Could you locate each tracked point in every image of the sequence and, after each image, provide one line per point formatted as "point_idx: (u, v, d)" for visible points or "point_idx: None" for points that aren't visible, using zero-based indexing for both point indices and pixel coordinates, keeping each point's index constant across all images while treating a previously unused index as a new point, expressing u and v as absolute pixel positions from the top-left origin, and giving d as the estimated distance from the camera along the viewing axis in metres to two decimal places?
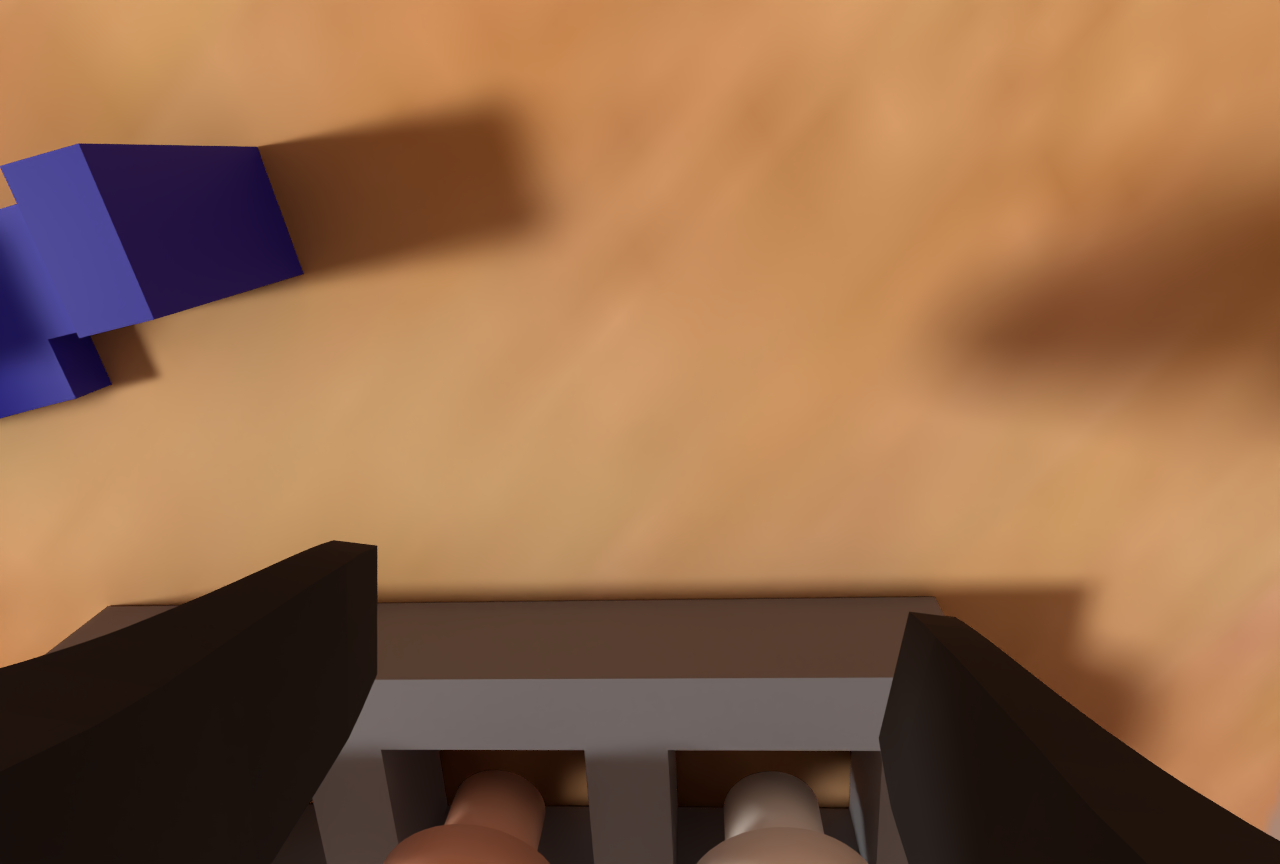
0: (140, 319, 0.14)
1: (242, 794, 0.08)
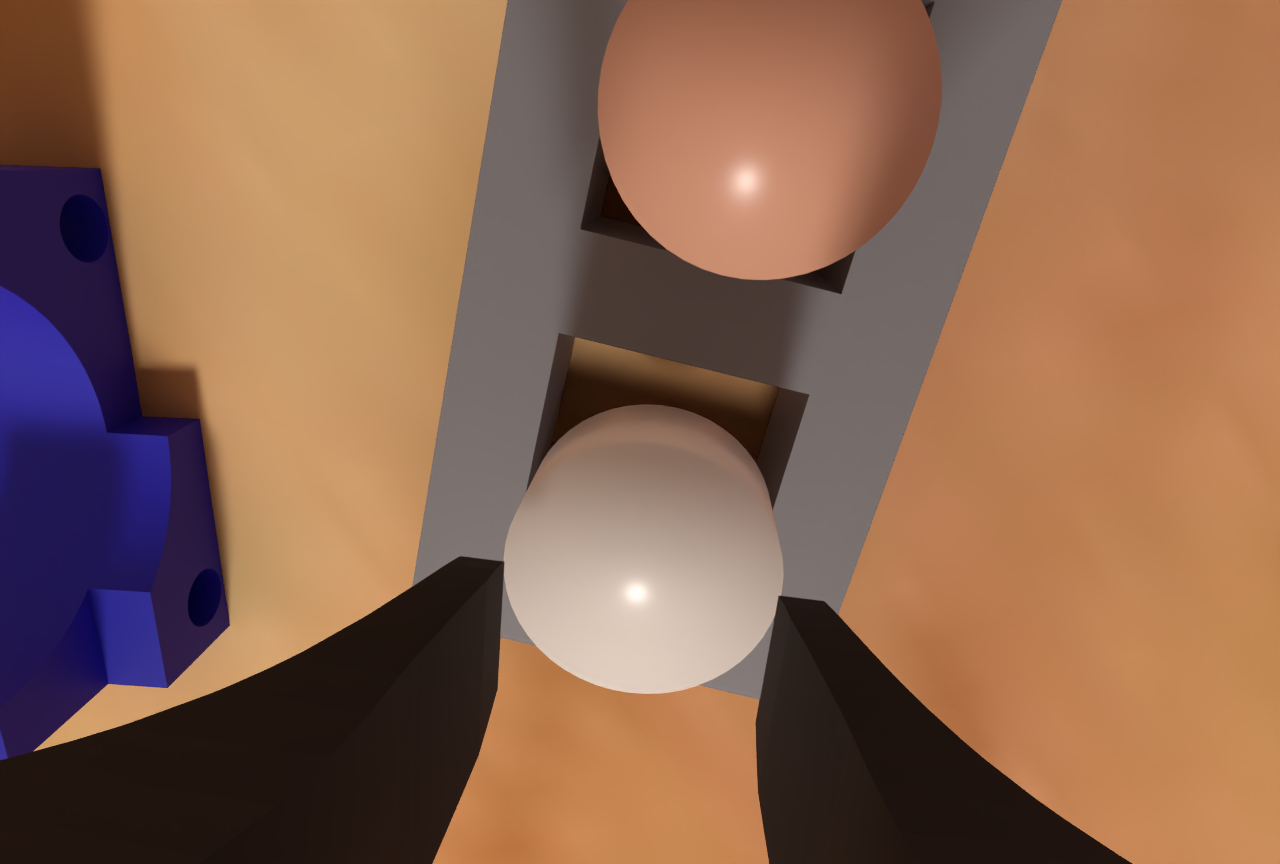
0: None
1: (409, 815, 0.08)
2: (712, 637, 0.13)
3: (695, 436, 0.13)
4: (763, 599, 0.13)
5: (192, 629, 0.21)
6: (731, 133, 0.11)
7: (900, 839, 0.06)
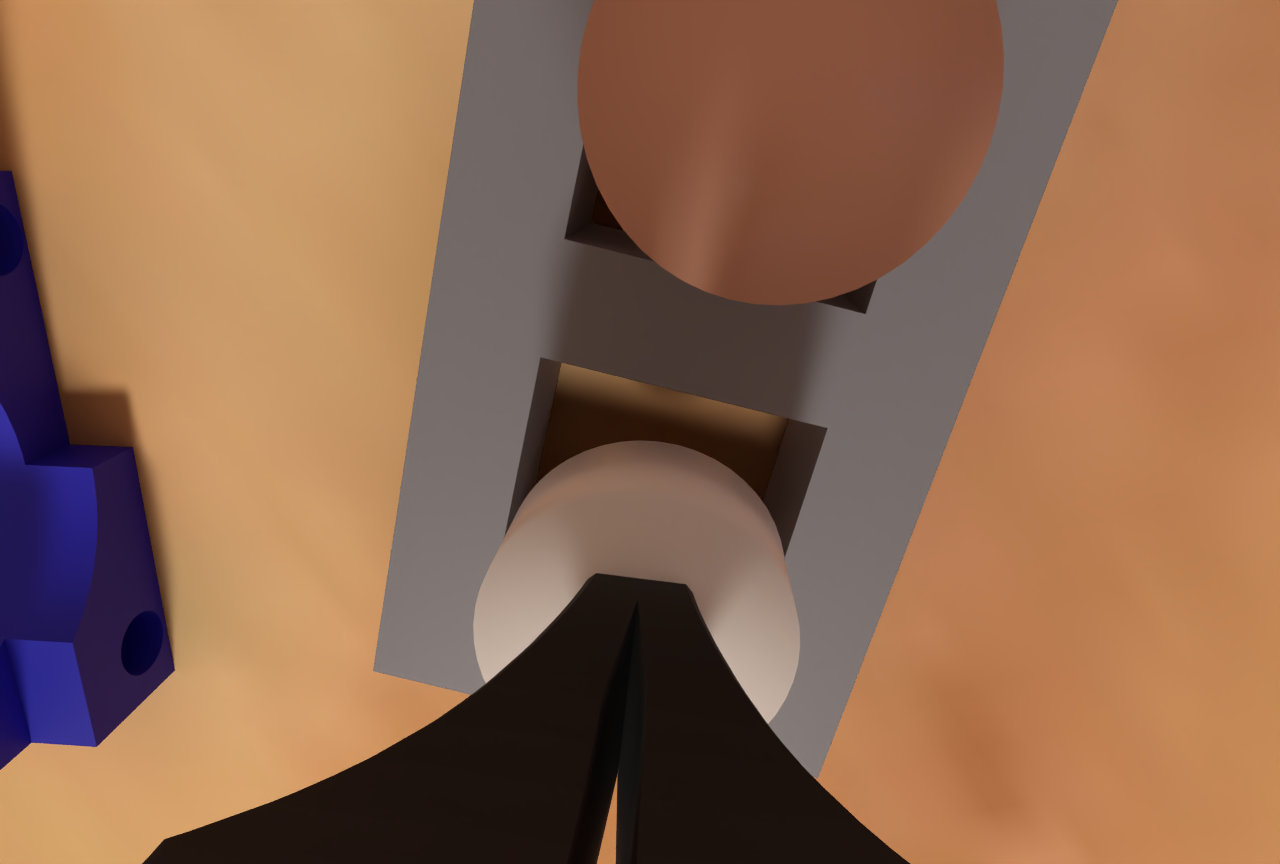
0: None
1: (589, 839, 0.08)
2: None
3: (697, 481, 0.11)
4: (776, 672, 0.11)
5: (127, 679, 0.19)
6: (741, 126, 0.09)
7: (640, 805, 0.06)
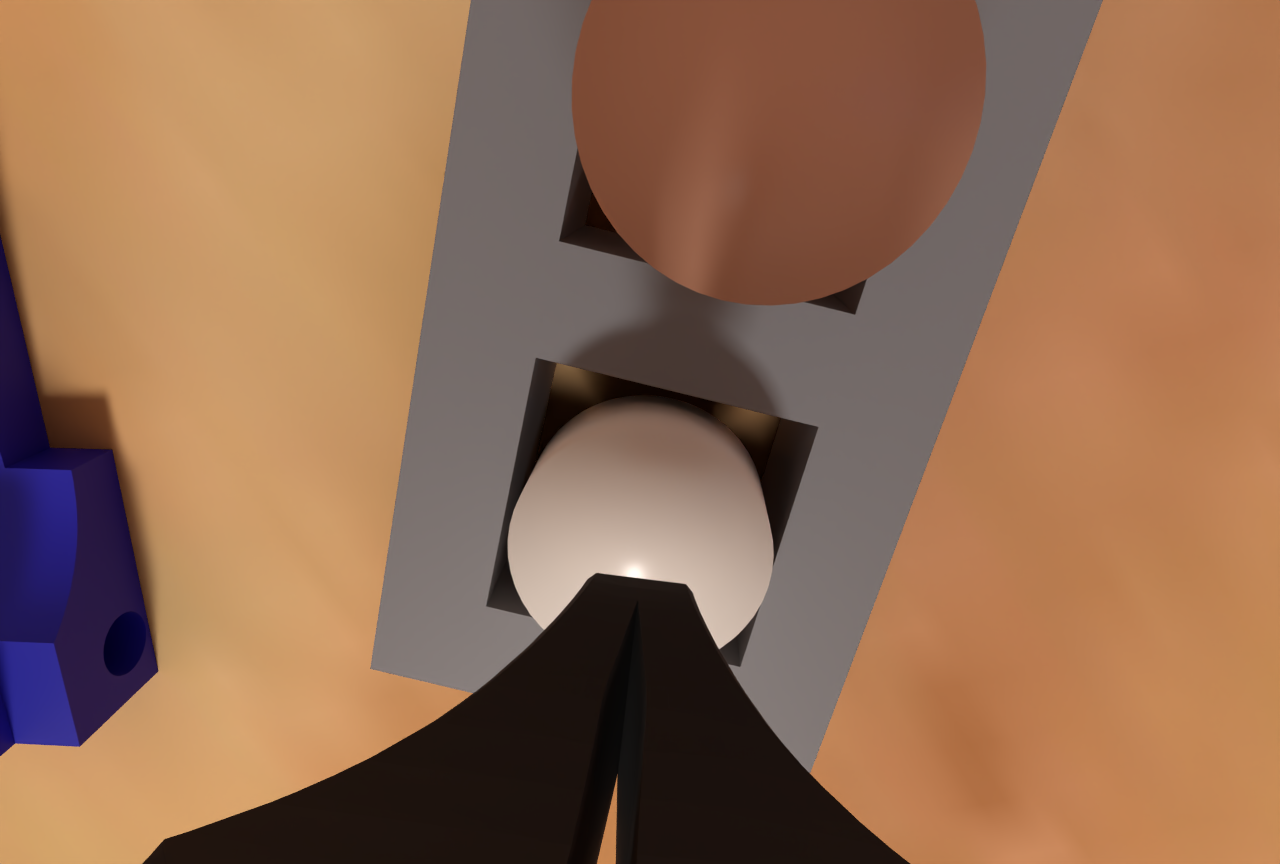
0: None
1: (590, 839, 0.08)
2: (706, 615, 0.14)
3: (689, 424, 0.14)
4: (754, 579, 0.13)
5: (110, 679, 0.19)
6: (732, 131, 0.09)
7: (640, 805, 0.06)
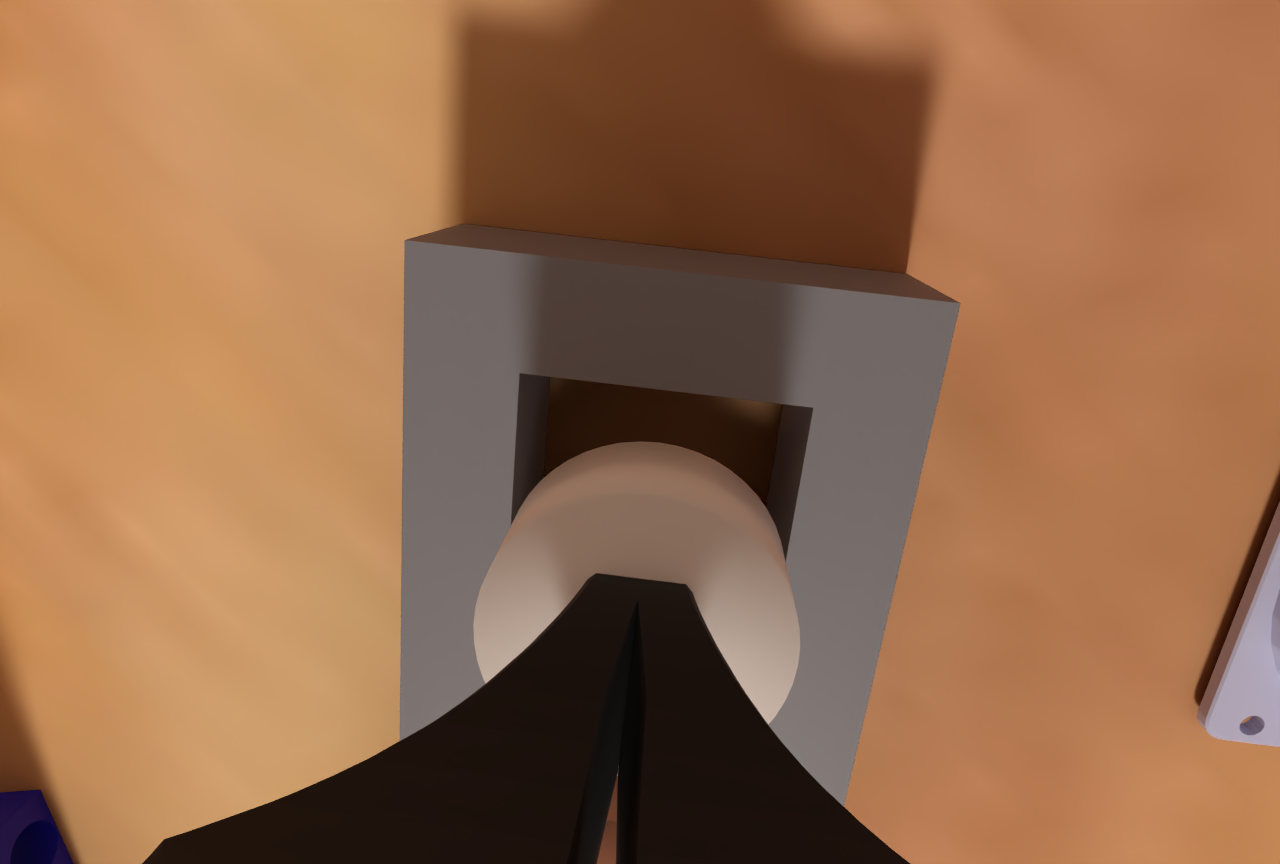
0: None
1: (589, 840, 0.08)
2: None
3: None
4: None
5: None
6: None
7: (640, 805, 0.06)
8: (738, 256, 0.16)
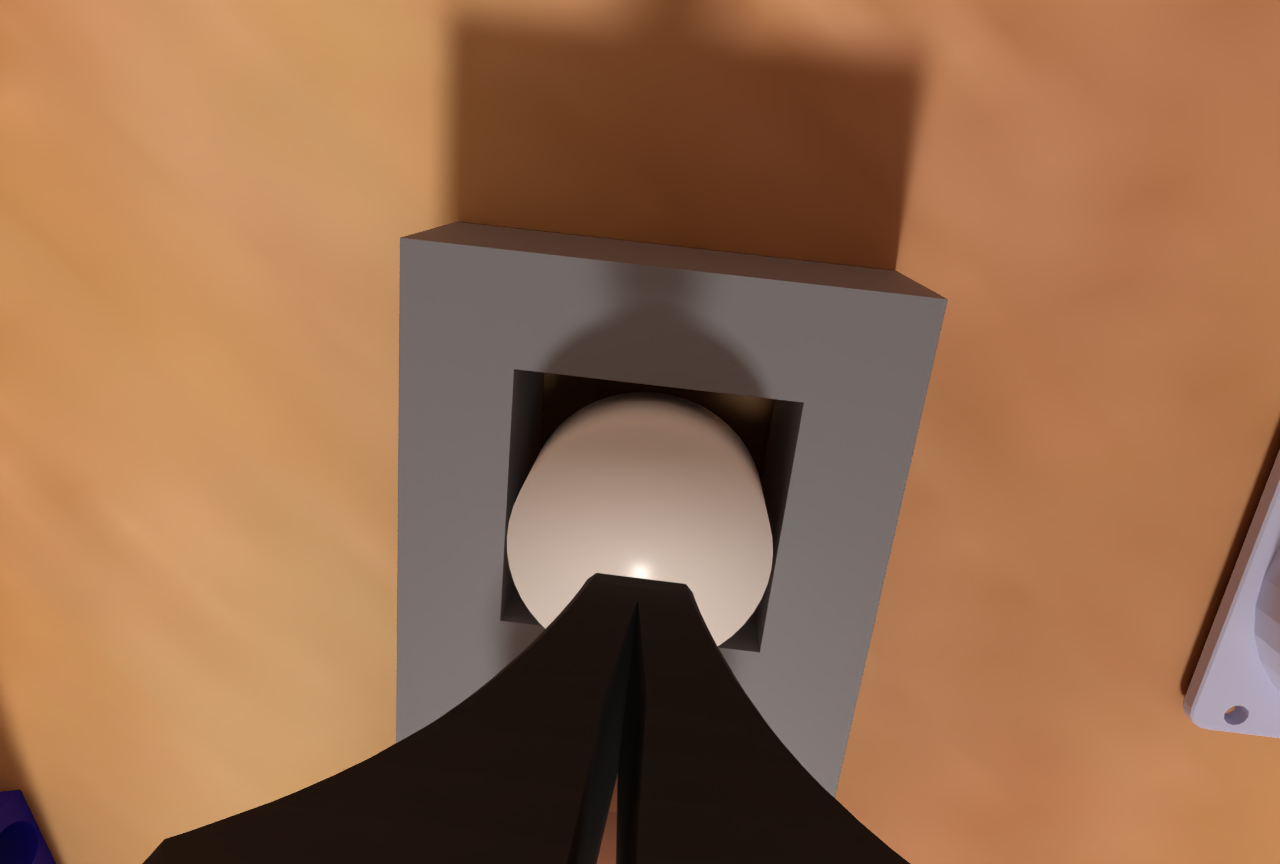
0: None
1: (590, 839, 0.08)
2: None
3: None
4: None
5: None
6: None
7: (641, 805, 0.06)
8: (730, 253, 0.16)
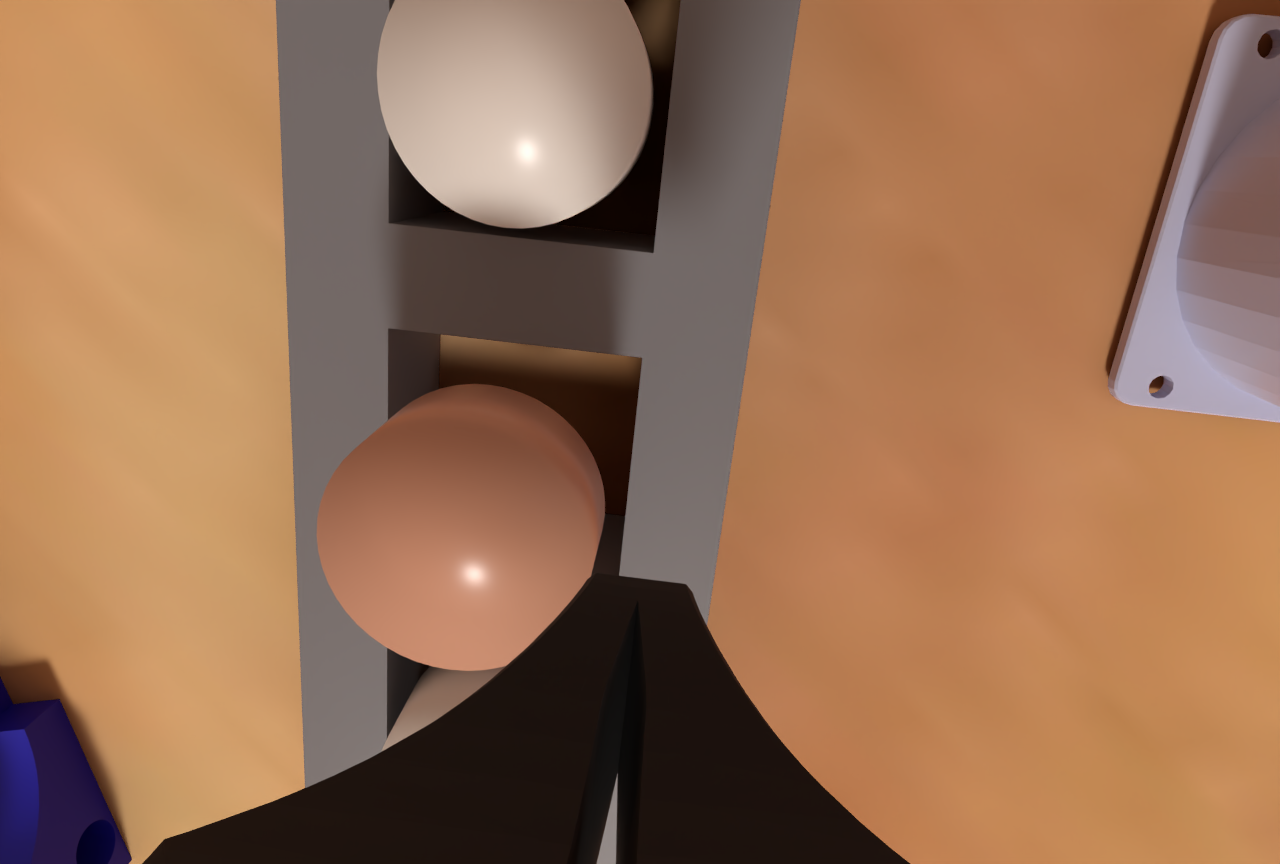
0: None
1: (589, 840, 0.08)
2: None
3: None
4: None
5: None
6: (430, 571, 0.13)
7: (640, 805, 0.06)
8: None
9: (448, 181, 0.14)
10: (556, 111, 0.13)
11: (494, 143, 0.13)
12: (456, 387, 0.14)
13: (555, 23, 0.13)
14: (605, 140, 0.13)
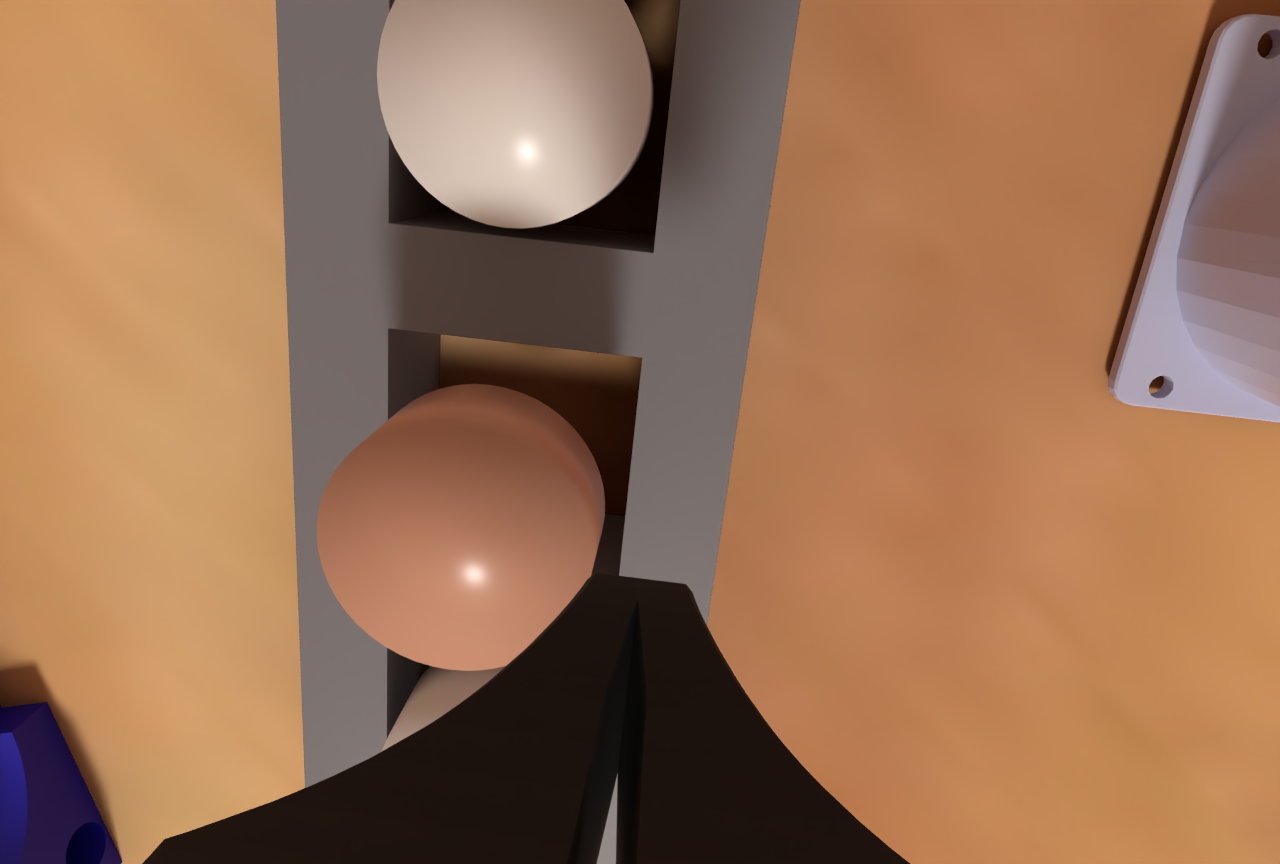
0: None
1: (589, 840, 0.08)
2: None
3: None
4: None
5: None
6: (430, 571, 0.13)
7: (640, 805, 0.06)
8: None
9: (448, 181, 0.14)
10: (556, 111, 0.13)
11: (494, 143, 0.13)
12: (456, 387, 0.14)
13: (555, 23, 0.13)
14: (605, 140, 0.13)
